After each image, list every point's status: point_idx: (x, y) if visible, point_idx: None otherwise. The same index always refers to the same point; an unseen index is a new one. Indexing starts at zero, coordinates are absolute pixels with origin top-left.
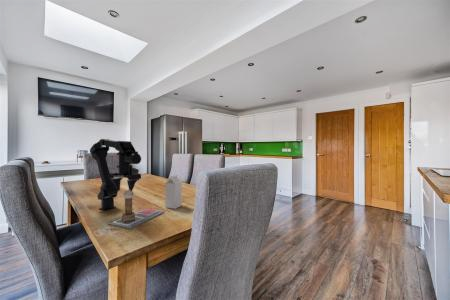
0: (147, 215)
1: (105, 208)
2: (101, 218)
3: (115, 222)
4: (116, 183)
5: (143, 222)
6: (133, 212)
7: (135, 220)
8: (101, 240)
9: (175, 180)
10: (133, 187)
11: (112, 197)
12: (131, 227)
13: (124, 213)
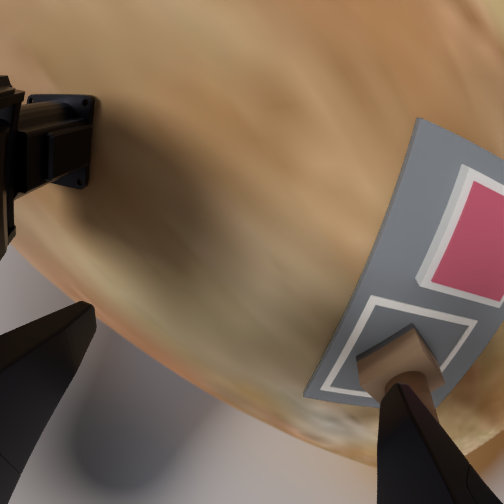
0: (494, 305)
1: (64, 176)
2: (191, 325)
3: (339, 390)
4: (21, 443)
5: (475, 355)
6: (428, 361)
7: (437, 356)
8: (362, 458)
9: None
10: (451, 441)
11: (16, 138)
12: (435, 407)
13: (374, 382)
